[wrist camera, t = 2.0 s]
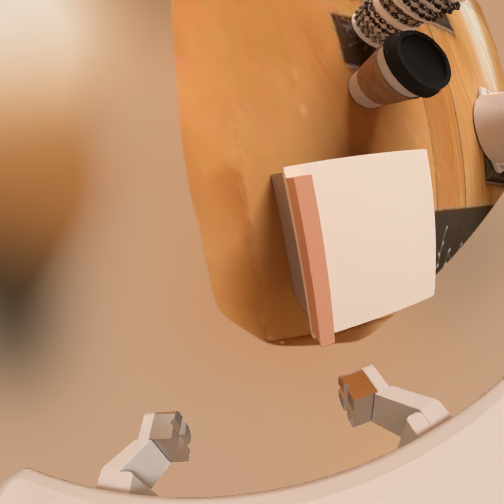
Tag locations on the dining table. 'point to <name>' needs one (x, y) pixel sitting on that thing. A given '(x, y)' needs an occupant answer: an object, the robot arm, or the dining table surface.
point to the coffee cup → (401, 71)
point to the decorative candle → (397, 17)
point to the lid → (362, 236)
